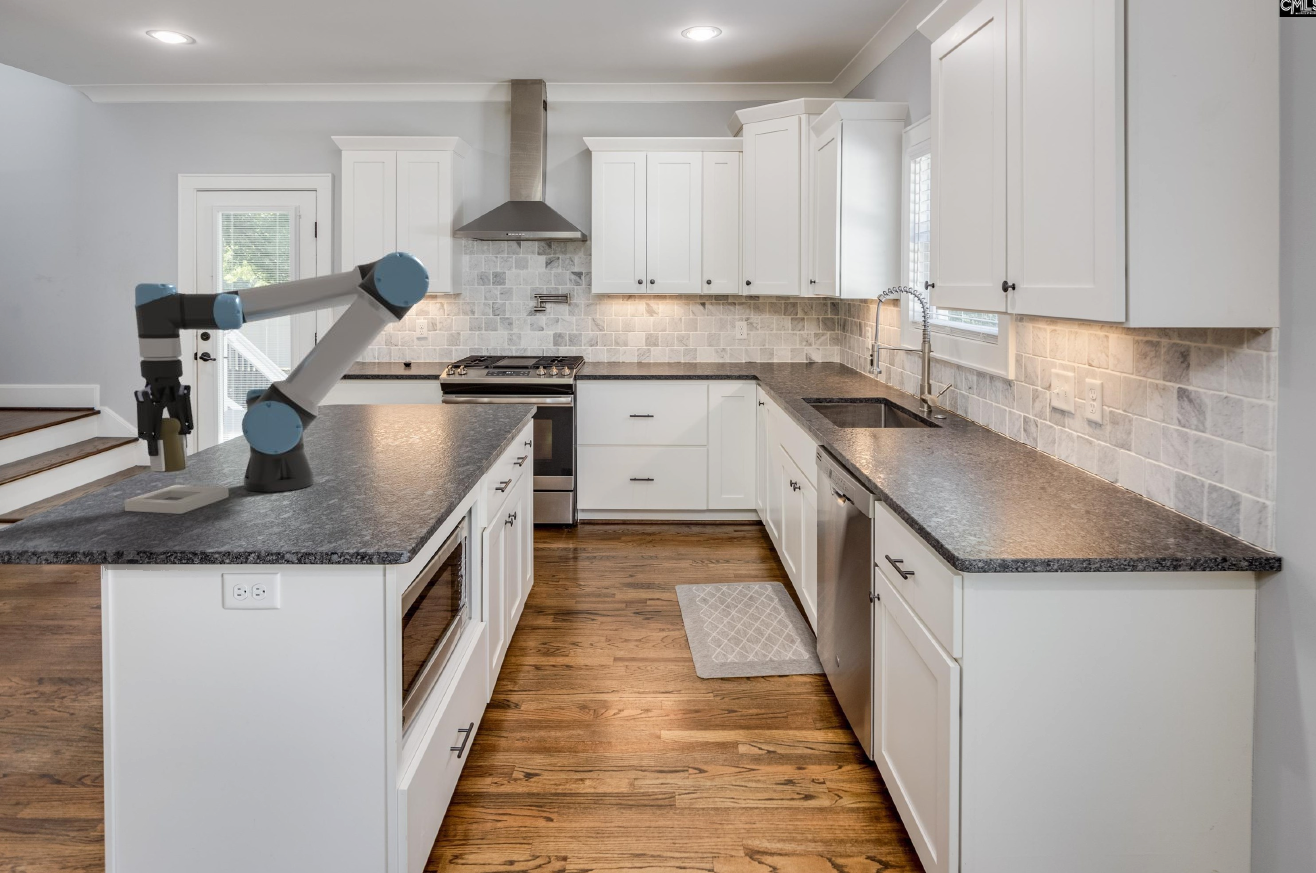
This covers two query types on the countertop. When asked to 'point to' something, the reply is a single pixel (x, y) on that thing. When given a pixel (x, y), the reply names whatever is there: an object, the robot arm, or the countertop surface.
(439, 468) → the countertop surface
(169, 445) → the cork
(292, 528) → the countertop surface
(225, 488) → the socket plate
